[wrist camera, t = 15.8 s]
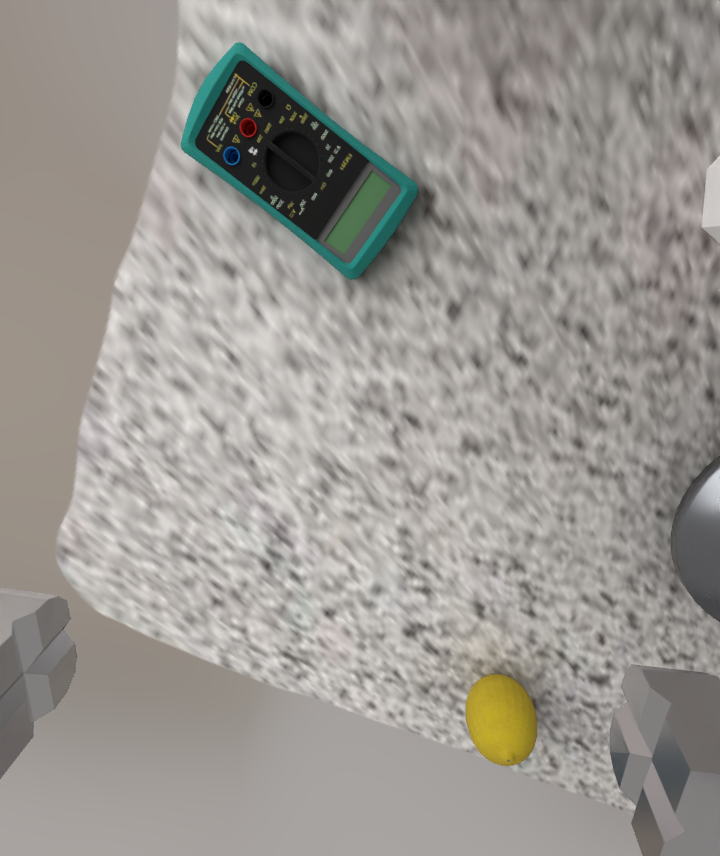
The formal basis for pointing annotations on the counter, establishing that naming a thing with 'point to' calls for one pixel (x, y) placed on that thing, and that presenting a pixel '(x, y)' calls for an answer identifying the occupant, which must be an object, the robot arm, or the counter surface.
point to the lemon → (501, 719)
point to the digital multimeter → (296, 162)
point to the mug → (712, 201)
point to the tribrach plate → (700, 539)
